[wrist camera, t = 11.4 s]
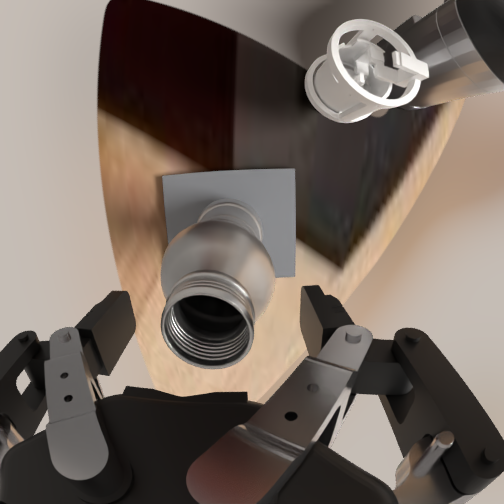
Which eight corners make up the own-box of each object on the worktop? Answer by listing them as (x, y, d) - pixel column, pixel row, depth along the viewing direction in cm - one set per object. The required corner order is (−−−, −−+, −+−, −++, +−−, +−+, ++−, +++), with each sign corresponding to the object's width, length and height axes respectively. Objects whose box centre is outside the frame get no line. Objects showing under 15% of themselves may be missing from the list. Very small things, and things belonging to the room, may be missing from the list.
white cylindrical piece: (352, 134, 28) (432, 115, 13) (292, 126, 27) (337, 88, 13) (353, 80, 26) (423, 32, 11) (294, 69, 25) (334, 1, 11)
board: (165, 175, 28) (162, 175, 27) (292, 168, 29) (294, 168, 27) (175, 277, 32) (173, 281, 31) (293, 272, 32) (295, 276, 31)
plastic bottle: (225, 267, 30) (202, 410, 11) (187, 219, 29) (95, 309, 10) (273, 234, 29) (323, 349, 10) (236, 183, 28) (218, 210, 9)
